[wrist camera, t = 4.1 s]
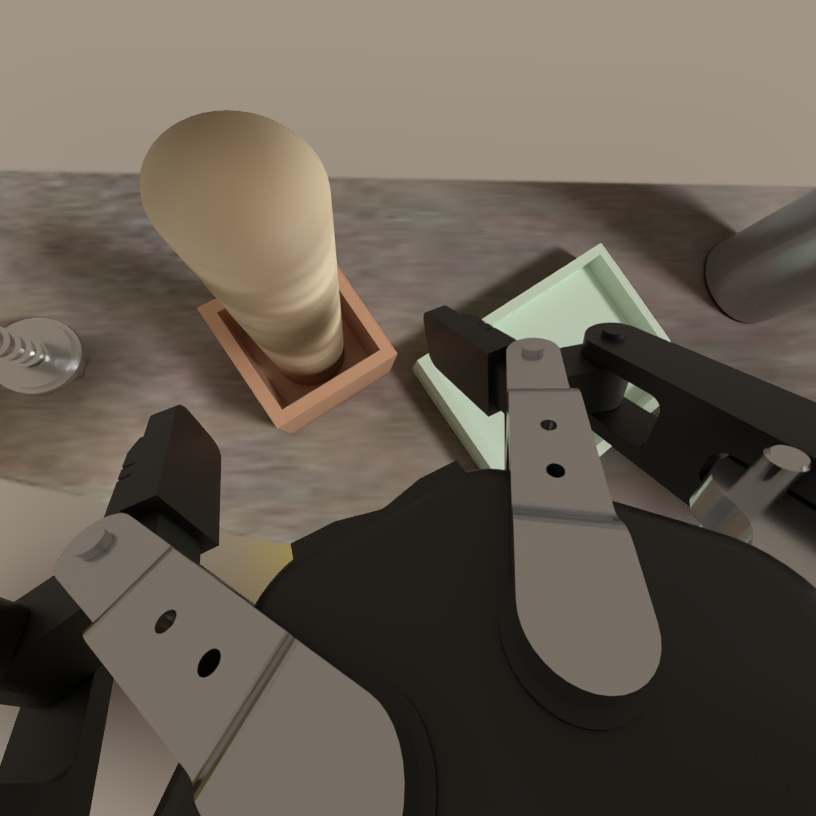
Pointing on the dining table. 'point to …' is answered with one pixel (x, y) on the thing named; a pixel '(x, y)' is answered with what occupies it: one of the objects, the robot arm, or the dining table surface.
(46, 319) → the screw
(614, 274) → the pale green tray
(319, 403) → the terracotta holder
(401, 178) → the dining table surface
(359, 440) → the dining table surface
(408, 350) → the dining table surface
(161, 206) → the birch pin
